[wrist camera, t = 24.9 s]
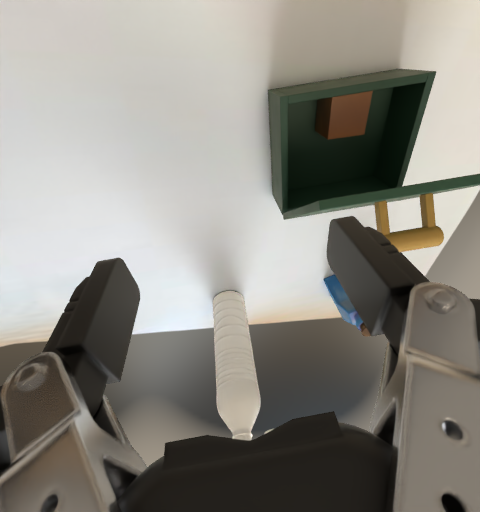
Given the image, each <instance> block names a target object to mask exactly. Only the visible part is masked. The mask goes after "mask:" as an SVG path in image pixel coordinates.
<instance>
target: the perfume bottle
mask: <svg viewBox="0 0 480 512" xmlns="http://www.w3.org/2000/svg"><path fill="white" fill-rule="evenodd" d="M324 281H325V284H326V286H327V288H328V290H329V293H330V295H331V297H332V299H333V301H334V303H335V304H336V306H337V308H338V310H339V312H340V314H341V316H342V318H343V319H344V320H345V321H347V322H349V323H351V324H353V325H355V324H356V326H357V328H358V329H359V330H360V331H361V332H362V335H363V336H371V334H370V333H369V331H368V329H367V328H366V326H365V324H364V323H363V321H362V319H361V318H360V316H359V314H358V313H357V311H356V309H355V308H354V306H353V304H352V303H351V301H350V299H349V298H348V296H347V294H346V293H345V291H344V289H343V288H342V286H341V284H340V282H339V281H338V279H337V277H336V276H335V275H332V276H330V277H328V278H325V279H324Z"/></svg>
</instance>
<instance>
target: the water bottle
mask: <svg viewBox="0 0 480 512" xmlns="http://www.w3.org/2000/svg"><path fill="white" fill-rule="evenodd" d="M213 312H214V313H213V318H214V337H215V338H214V343H215V363H216V385H217V386H216V390H217V409H218V412H219V414H220V416H221V417H222V419H223V420H224V422H225V423H226V425H227V426H228V428H229V429H230V430H231V432H232V433H233V437H232V439H240V440H251V437H252V434H251V429H252V427H253V425H254V422H255V420H256V417H257V415H258V412H259V409H260V403H261V400H260V393H259V388H258V382H257V376H256V371H255V365H254V358H253V351H252V345H251V339H250V334H249V327H248V320H247V315H246V309H245V302H244V298H243V296H242V295H241V294H240V293H238V292H235V291H227V292H226V291H224V292H221V293H219V294H218V295H217V296H216V297H215V298H214V300H213ZM271 430H273V429H271ZM271 430H268V431H266V432H265V434H266V433H268V432H270V431H271Z"/></svg>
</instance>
